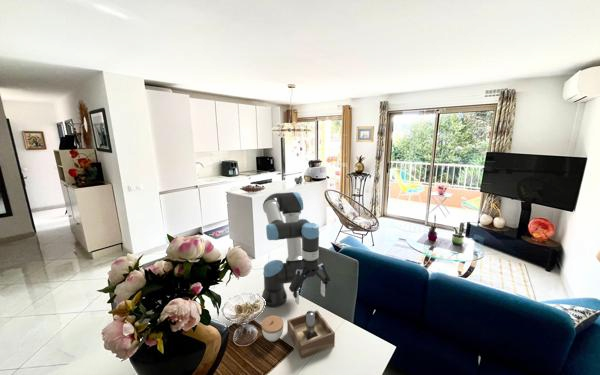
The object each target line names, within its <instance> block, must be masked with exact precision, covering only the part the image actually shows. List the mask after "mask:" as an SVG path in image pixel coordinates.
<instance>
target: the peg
mask: <svg viewBox="0 0 600 375" xmlns="http://www.w3.org/2000/svg"><path fill="white" fill-rule="evenodd" d="M305 314H306V335H305V337H306V338H307V340H309V339H311V338H314V337H315V313H314V311H313V310H307V311H306V312H305Z"/></svg>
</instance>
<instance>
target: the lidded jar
mask: <svg viewBox="0 0 600 375" xmlns="http://www.w3.org/2000/svg"><path fill="white" fill-rule="evenodd" d="M284 323H285V322H284V319H283V318H282V317H280V316H279V315H268V316H266V317H265V318H264V319H263V320H262V321H261V325H260V326H261V332H262V334H263V337H264V339H266V340H267V341H268V342H270V343H271V342H276V341H278V340H279V339H281V337H282V335H283V332H284V326H285V325H284Z"/></svg>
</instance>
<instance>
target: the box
mask: <svg viewBox="0 0 600 375" xmlns="http://www.w3.org/2000/svg"><path fill="white" fill-rule="evenodd" d="M313 312H314V313H315V337H314V338H311V339H309V340H307V338H306V313H305V314H302V315H299V316H296V317H293V318H290V319H287V322H286V323H287V324H286V326H287V327H286V328H287V329H286V330H287V334H288V337H289V338H290V339H291V342H292V343H293V346H294V347H295V349H296V351H297V353H298V355H299V357H300V358H301V360H304V359H306V358H308V357H312V356H313V355H316V354H318V353H321V352H323V351H325V350H328V349H330V348H333V347H335V346H336V345H335V342H336V340H335V338H336V336H335V335H336V332H335V331H334V330H333V329H332V327H331V326H330V325H329V324H328V322H327V321H326V319H325V318H324V317H323V316H322V314H321V313H320V312H319V310H314V311H313Z"/></svg>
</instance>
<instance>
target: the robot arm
mask: <svg viewBox="0 0 600 375" xmlns="http://www.w3.org/2000/svg"><path fill="white" fill-rule="evenodd" d="M303 201H304V200H303V198H302V195H301V193H300V192H297V191H296V192H295V191H294V192H293V191H291V192H290V191H289V192H278V193H277V192H276V193H272V194H270V195H269V196H268V197H266V199H265V200H263V204H262V210H263V212H264V213H265V214H266V218H267V219H266V220H267V222H268V224H267V225H266V226H265V227H266V229H265V230H266V232H265V233H266V239H267V240H268V241H279V240H286V243H287V244H286V245H287V257H286V259H285V262H283V261H282V260H280V259H274V260H270V261H268V262H267V263H265V265H264V267H263V286H264V287H263V291H262V294H261V298H262V297H263V298H264V299H265V301H266V305H265V306H266V307H269V308H278V307H280V306H282V305H284V304H285V303H286V302H287V300H288V294H287V291H286V289H285V284H289V287H288V289H289V290H290V292H291V293H292V296H293V297H294V302H295V304H296V306H297V305H299V304H300V292H299V289H300V288H301V286H302V285H303V283H304V282H305V281H307V279H308V278H311V277H312V278H313V277H315V276H317V277H318V278H319V279H320V280H321V281H320V294H321V296H322V297H326V289H327V285H328V283H329V282H330V281H331V278H330V276H329V274H328V273H327V271H326V267H325V264H323V263H322V262H320V263H319V251H320V250H319V245H320V240H319V239H320V230H319V229H320V227H319V225H318V224H316V223H314V222H310V220H308V219H306V218H300V215H301V214H302V211H303V210H304V202H303ZM281 212H282V214H281ZM282 216H284V219H285V222H284V219H283V217H282ZM319 270H321V272H322V275H323V276H324V277H323V276H322V275H321V274H320V273H319V272H318V271H319Z"/></svg>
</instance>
